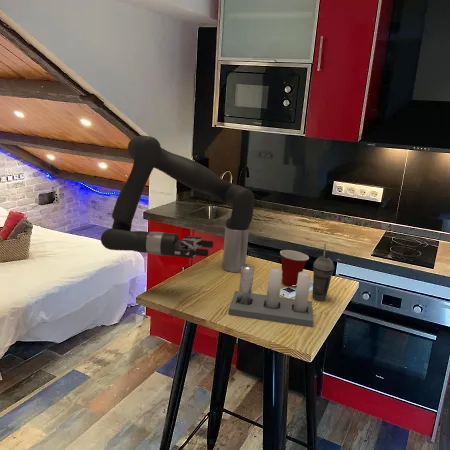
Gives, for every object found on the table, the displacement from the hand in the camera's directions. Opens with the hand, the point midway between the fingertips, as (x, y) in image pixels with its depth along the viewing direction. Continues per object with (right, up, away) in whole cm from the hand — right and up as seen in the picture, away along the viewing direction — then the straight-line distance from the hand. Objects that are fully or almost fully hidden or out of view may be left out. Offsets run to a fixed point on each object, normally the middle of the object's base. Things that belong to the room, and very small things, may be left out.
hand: (210, 248), depth 140 cm
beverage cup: (+38, -18, +12) cm, 44 cm away
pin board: (+20, -20, 0) cm, 28 cm away
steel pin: (+11, -19, +1) cm, 22 cm away
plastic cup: (+29, -15, +23) cm, 40 cm away
